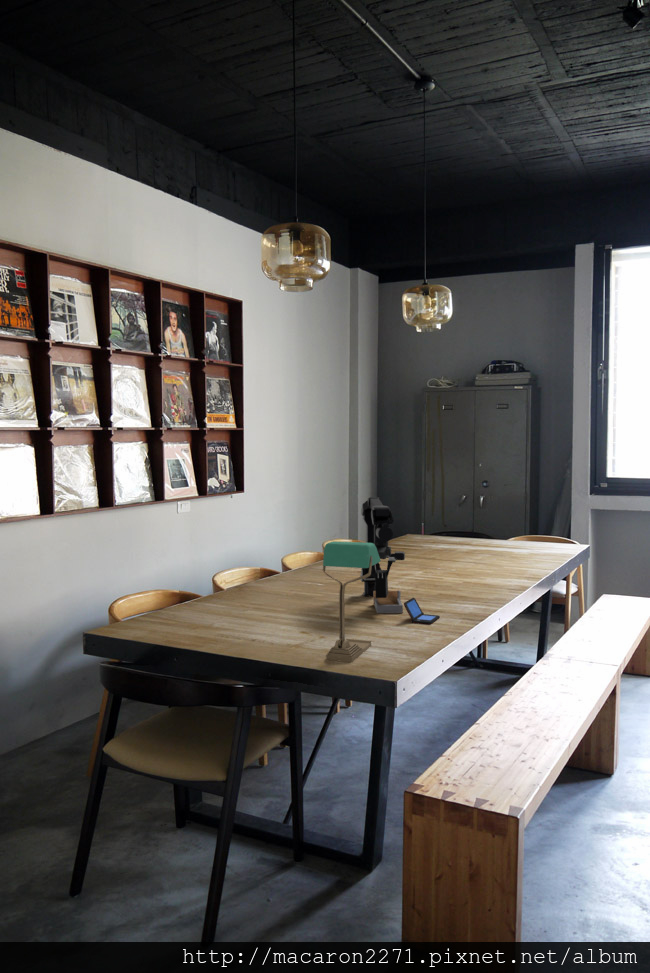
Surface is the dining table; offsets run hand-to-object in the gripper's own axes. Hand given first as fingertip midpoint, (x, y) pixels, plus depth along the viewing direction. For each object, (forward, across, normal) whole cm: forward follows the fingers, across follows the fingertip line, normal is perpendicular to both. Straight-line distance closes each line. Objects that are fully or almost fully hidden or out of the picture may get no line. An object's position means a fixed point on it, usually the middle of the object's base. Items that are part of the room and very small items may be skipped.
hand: (381, 576), depth 303 cm
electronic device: (+8, 0, 0) cm, 8 cm away
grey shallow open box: (+13, +3, 0) cm, 13 cm away
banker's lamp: (+13, -5, -64) cm, 65 cm away
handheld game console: (+13, +16, -17) cm, 27 cm away
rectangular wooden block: (+13, +2, +8) cm, 15 cm away
